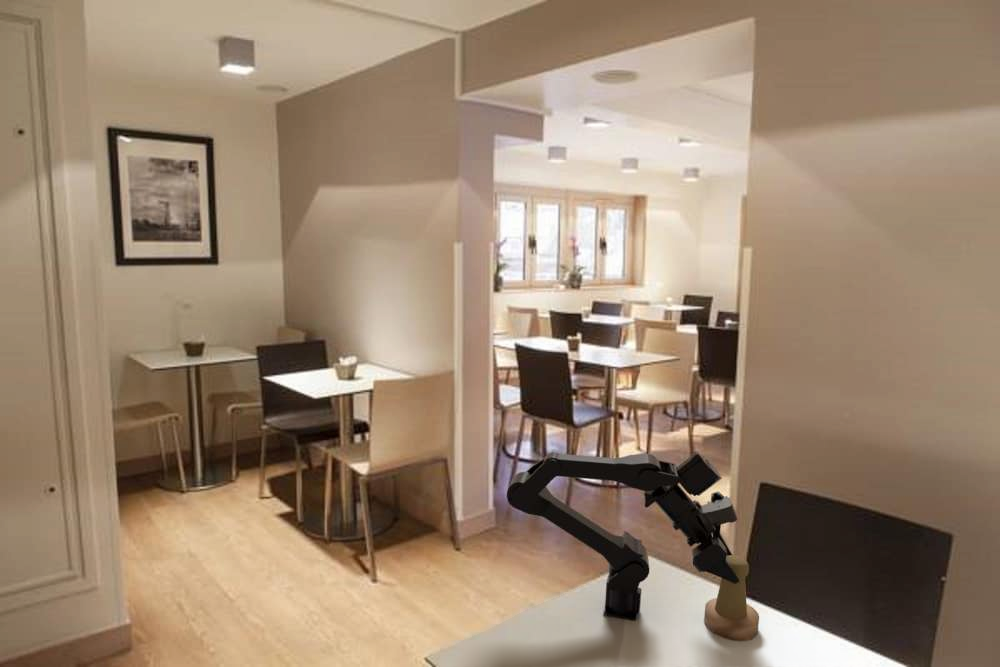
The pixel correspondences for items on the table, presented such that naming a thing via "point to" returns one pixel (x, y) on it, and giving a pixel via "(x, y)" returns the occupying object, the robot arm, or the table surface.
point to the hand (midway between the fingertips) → (734, 570)
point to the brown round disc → (731, 623)
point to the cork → (733, 591)
